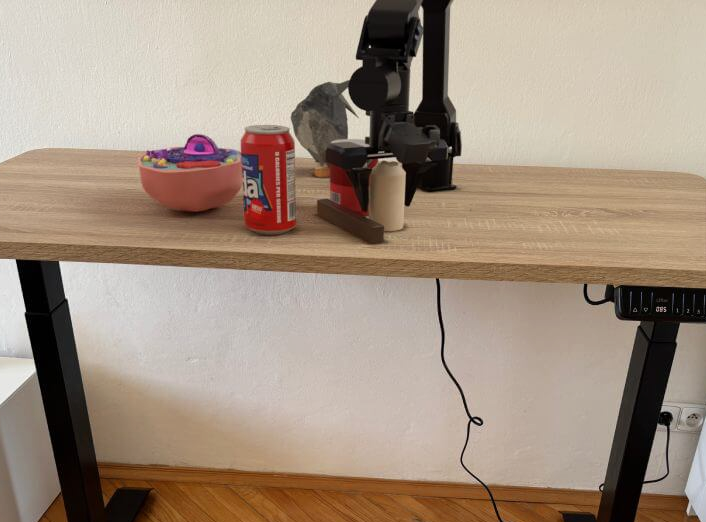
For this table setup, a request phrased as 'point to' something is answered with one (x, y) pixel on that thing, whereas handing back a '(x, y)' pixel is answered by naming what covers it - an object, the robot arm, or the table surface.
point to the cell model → (192, 175)
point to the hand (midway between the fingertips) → (386, 208)
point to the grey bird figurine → (322, 122)
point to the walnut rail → (351, 221)
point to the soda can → (268, 179)
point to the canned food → (347, 183)
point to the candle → (387, 195)
